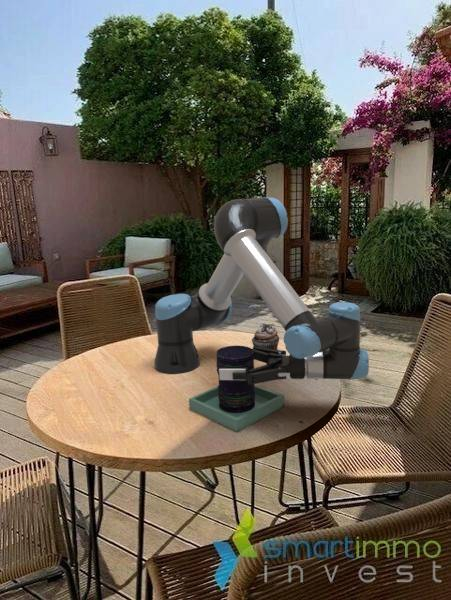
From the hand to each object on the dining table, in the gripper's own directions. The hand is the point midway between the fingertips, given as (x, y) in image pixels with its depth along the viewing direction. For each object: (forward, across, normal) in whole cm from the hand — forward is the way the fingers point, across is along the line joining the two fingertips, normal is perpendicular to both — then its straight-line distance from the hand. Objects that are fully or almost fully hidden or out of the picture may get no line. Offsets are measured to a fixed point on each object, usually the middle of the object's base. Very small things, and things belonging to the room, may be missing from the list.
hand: (222, 364), depth 120 cm
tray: (-3, 0, -12) cm, 13 cm away
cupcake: (-9, +43, -13) cm, 45 cm away
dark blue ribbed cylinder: (-3, 0, -12) cm, 12 cm away
